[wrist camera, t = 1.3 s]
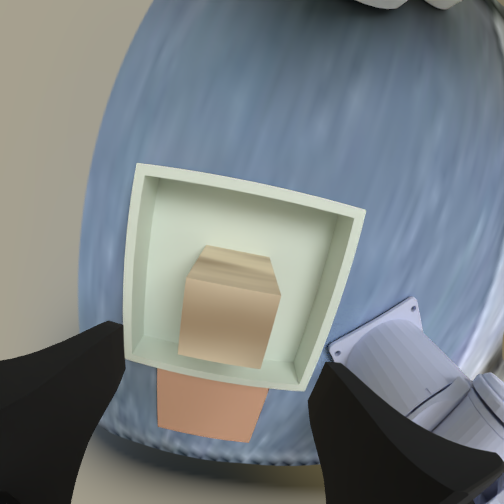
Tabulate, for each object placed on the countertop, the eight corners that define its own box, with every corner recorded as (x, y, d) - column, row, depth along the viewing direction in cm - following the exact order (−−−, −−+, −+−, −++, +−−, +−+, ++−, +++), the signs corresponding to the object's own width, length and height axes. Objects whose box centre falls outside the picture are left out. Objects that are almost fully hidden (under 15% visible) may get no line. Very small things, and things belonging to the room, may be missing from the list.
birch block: (256, 313, 18) (260, 369, 12) (197, 302, 18) (177, 354, 12) (269, 257, 17) (281, 295, 11) (206, 244, 17) (186, 277, 11)
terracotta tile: (248, 439, 22) (248, 442, 22) (159, 423, 21) (157, 426, 21) (270, 377, 20) (271, 381, 19) (159, 357, 19) (157, 360, 19)
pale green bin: (297, 366, 20) (304, 391, 17) (138, 336, 19) (124, 358, 16) (347, 205, 17) (366, 210, 14) (154, 165, 16) (136, 162, 13)
